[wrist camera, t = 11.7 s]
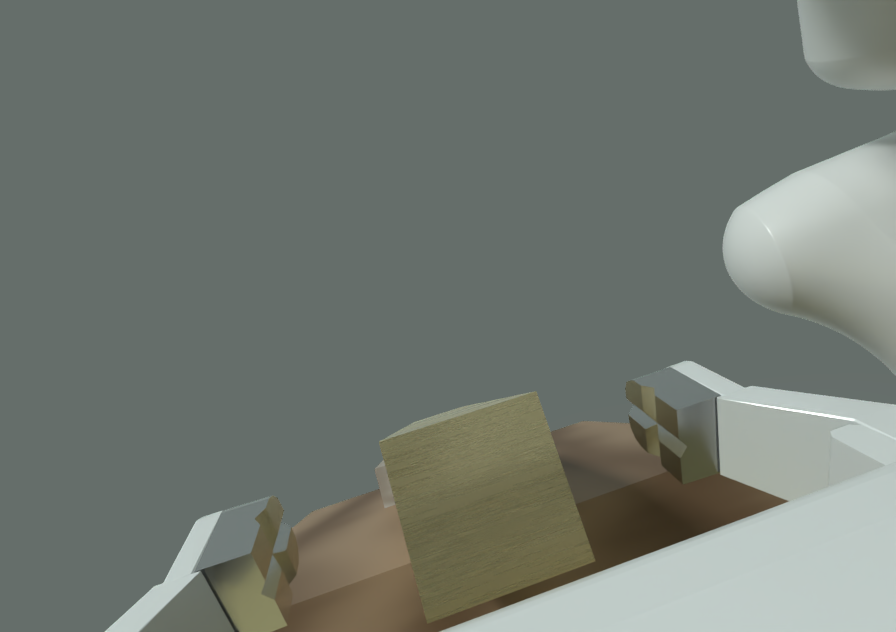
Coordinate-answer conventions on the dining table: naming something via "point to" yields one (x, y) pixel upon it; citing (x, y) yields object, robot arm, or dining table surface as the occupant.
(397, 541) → the stand
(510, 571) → the bar
